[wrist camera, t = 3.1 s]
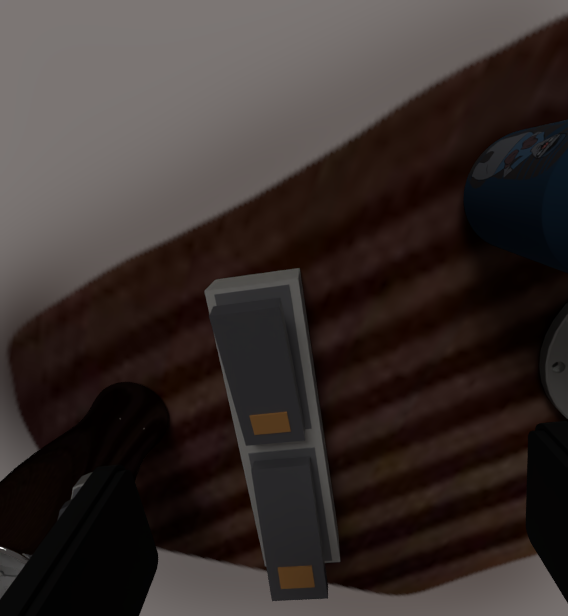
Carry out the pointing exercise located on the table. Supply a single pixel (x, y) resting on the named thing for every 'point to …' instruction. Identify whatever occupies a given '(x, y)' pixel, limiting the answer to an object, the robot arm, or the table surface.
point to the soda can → (523, 194)
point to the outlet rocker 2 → (290, 528)
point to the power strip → (314, 445)
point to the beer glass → (74, 468)
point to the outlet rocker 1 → (259, 370)
